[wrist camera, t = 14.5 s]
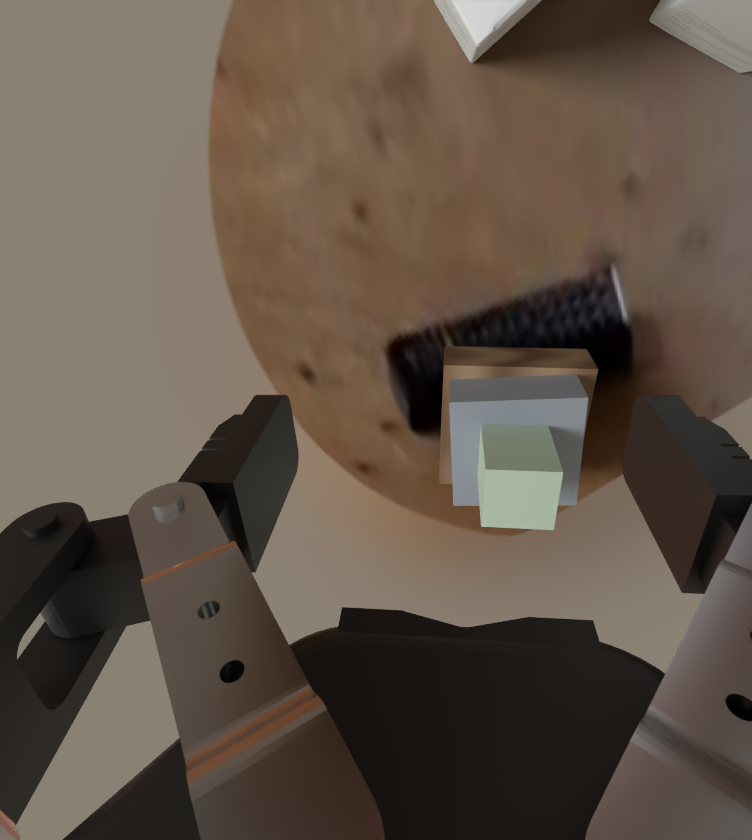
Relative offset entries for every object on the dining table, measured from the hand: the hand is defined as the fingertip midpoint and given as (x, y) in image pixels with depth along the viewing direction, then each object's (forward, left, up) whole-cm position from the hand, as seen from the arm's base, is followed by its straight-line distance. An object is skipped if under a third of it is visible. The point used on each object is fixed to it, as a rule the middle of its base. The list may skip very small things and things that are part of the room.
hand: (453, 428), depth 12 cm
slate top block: (-6, +17, -28) cm, 33 cm away
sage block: (-5, +16, -24) cm, 29 cm away
